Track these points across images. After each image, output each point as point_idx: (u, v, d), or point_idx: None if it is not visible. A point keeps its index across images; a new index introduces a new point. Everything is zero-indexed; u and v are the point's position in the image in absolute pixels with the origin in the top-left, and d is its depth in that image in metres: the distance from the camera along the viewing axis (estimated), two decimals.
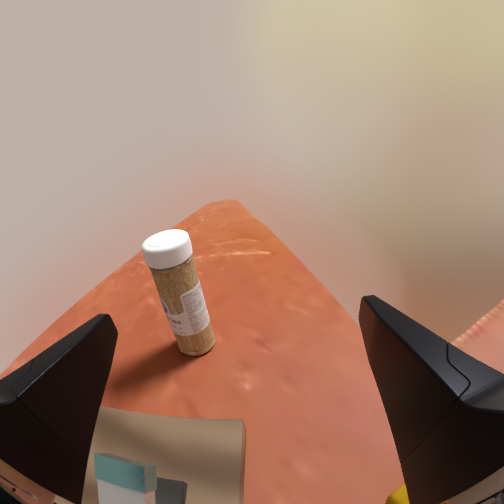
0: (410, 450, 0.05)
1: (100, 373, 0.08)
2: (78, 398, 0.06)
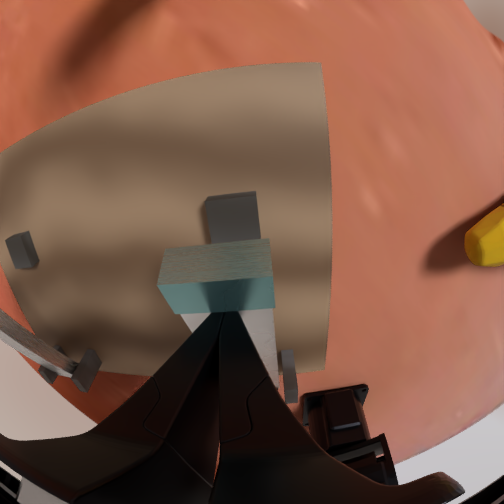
0: None
1: None
2: (211, 416, 0.06)
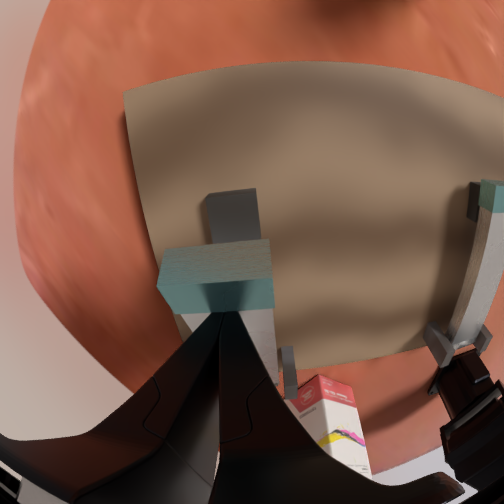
0: None
1: None
2: (211, 415, 0.06)
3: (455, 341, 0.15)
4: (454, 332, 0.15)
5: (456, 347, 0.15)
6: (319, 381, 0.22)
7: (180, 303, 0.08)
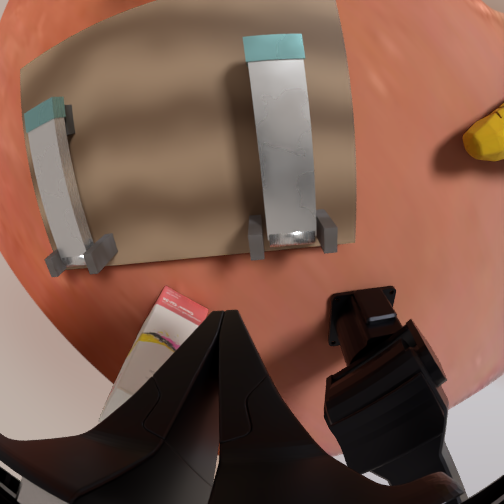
0: None
1: None
2: (211, 416, 0.06)
3: (272, 229, 0.16)
4: None
5: (279, 239, 0.17)
6: (162, 290, 0.23)
7: (28, 123, 0.13)
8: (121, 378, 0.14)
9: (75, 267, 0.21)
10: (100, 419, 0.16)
